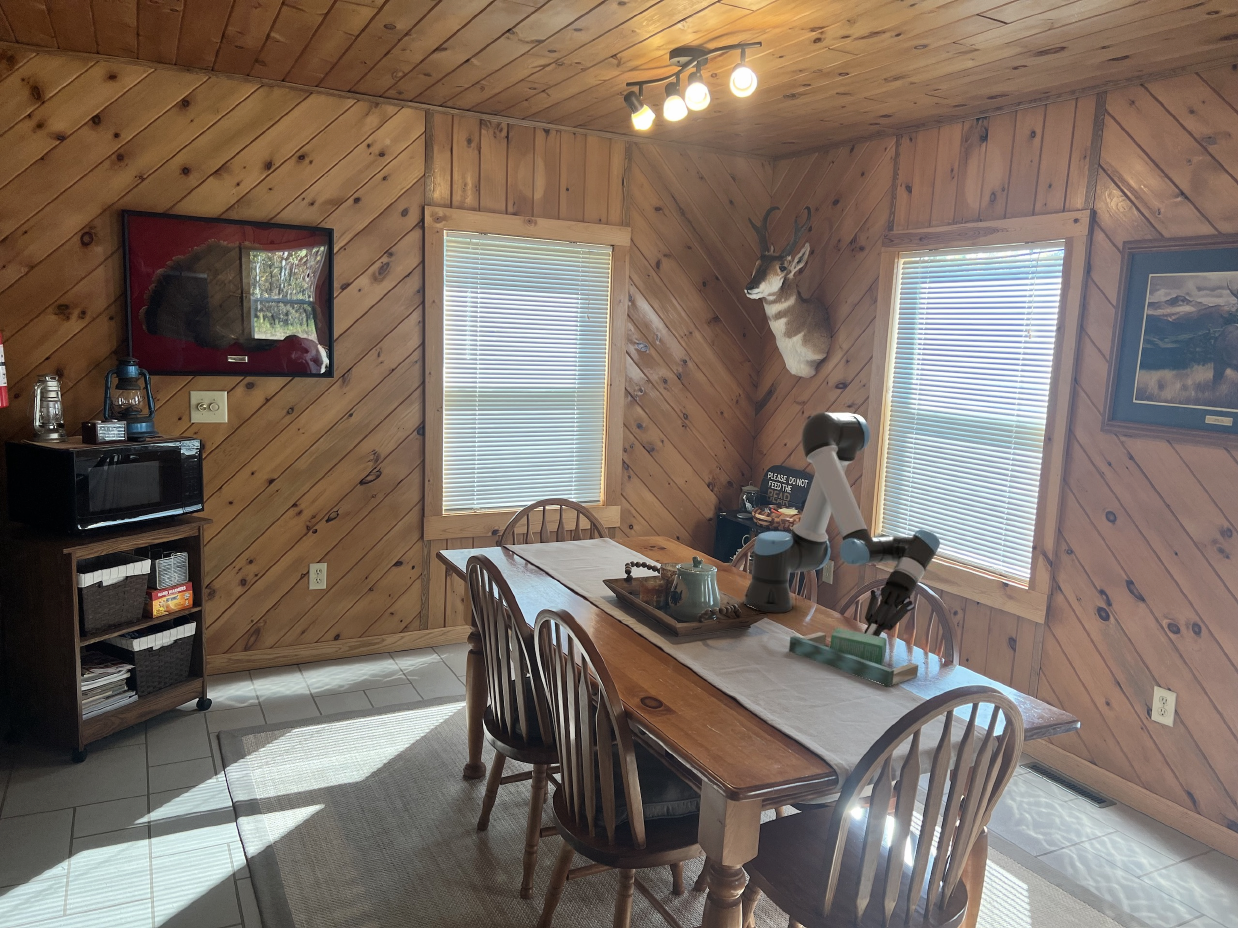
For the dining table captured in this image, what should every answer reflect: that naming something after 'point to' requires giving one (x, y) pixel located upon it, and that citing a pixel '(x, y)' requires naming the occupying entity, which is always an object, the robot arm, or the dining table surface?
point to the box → (859, 645)
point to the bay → (849, 660)
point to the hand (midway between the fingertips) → (864, 646)
